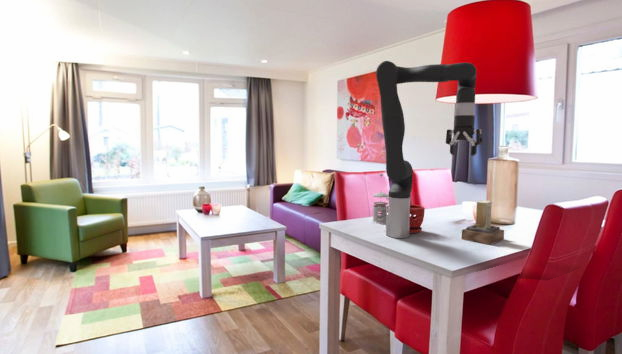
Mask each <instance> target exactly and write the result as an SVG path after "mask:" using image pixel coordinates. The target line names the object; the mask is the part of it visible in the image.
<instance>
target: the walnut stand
mask: <svg viewBox="0 0 622 354" xmlns="http://www.w3.org/2000/svg"><path fill="white" fill-rule="evenodd" d="M461 240H465V241H470V242H475V243H478V244H479V243H480V244H485V245H490V246H491V245H493V244H495V243H498V242H501V241H503V240H505V230H504V229H501V228H500V226H496V225H491V229H489V230H483V229H477V228H476V223H475V224H473V225H470V226H466V228H463V229H461Z"/></svg>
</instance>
